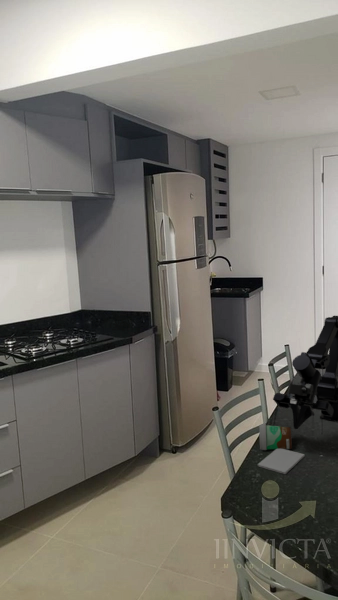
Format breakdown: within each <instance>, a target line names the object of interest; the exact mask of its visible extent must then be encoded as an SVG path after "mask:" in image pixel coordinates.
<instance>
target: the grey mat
mask: <svg viewBox="0 0 338 600" xmlns="http://www.w3.org/2000/svg"><path fill="white" fill-rule="evenodd" d="M304 458H305V454H304V453H300V452H297V451H292V450H290V449H281V448H280V449H273V451H272V452H271V453H270V454H268V455H267V456H266V457H264V458H263V459H262V460H261V461H260V462H259V463H257V467H258V468H259V467H260V468H262V469H266V470H269V471H273V472H275V473H280V474H284V475H286V474H287V473H288V472H290V471H291V470H292V469H293V468H294V467H295V466H296V465H297V464H298V463H299V462H300V461H301V460H303V459H304Z"/></svg>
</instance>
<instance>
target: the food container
mask: <svg viewBox="0 0 338 600" xmlns="http://www.w3.org/2000/svg"><path fill="white" fill-rule="evenodd" d="M258 427H259V428H258V429H259V432H258V434H259V450H262V451H267V450H276V449H280V448H281V449H285V450H292V449H293V443H292V439H293V438H292V430H291V429H292V428H291V426H289V427H287V426H277V425H267V423H261V424H259V426H258Z"/></svg>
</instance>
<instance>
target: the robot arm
mask: <svg viewBox="0 0 338 600" xmlns="http://www.w3.org/2000/svg"><path fill="white" fill-rule="evenodd" d="M323 323H324V324H323V327H322V329H321V331H320V334H319V335H318V338H317V340H316V341H315V343H314V345H312V346H311V347H309V348H308V350H307V351H306V352H304V351H301V352H300V354H299V355H297V356H295V357H294V358H293V359H292V367H293V369H294V371H296V374H298V376H299V377H300V378H301V379H300V381H299V382H297V384H296V383H295V384H294V383H289V388H288V394H290V395H291V396H292V398H290V397H289V396H288V395H287V394H286V393H280V392H276V393H275V394H274V395H273V398H272V400H273V401H274V403H275V404H276V405H277V406H278V407H280V408H283V409H289V408H290V410H291V411H292V418H293V419H292V421H293V429H295V430H298V429H299V428H300V427H301V426H302V425H303V423H305V422H306V421H307V420H308V419H309V418H310V417H312V416H315V410H318V411H320V412H321V413H320V414H321V415H320V416H319V419H323V420H327V421H333V422H338V315H332V316H331V317H329V316H328V317H325V318H324V322H323ZM319 370H325V371H324V373H323V374H321V371H319ZM315 397H316V401H315V402H314V400H315Z"/></svg>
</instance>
